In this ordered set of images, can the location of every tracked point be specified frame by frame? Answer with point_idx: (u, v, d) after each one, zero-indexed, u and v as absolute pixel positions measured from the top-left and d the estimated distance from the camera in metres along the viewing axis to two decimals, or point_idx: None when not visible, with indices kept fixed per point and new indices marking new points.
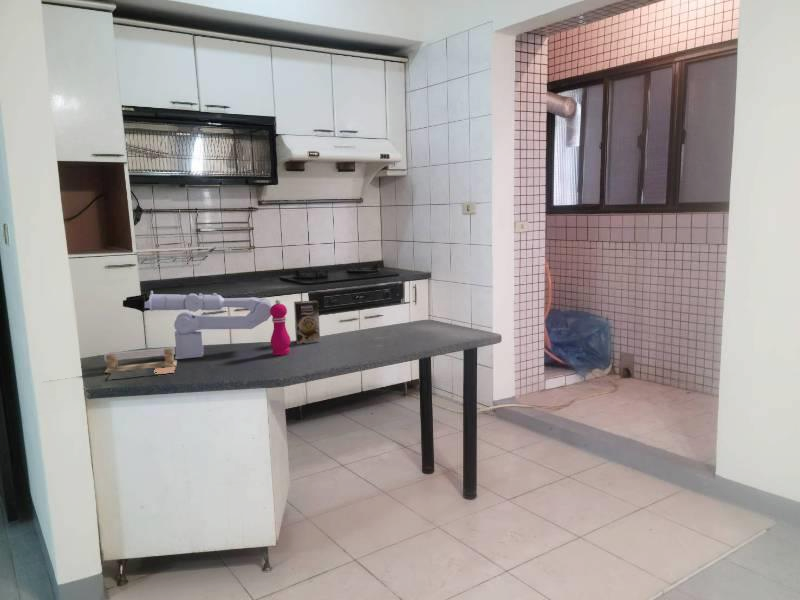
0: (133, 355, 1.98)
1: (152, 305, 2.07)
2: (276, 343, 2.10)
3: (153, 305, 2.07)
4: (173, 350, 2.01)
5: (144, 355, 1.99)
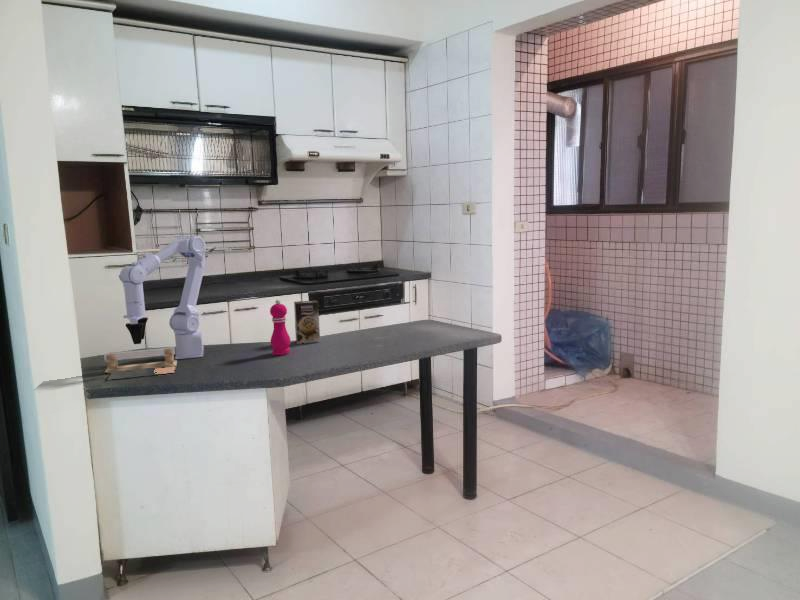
0: (133, 355, 1.98)
1: (137, 315, 1.95)
2: (276, 343, 2.10)
3: (137, 314, 1.95)
4: (173, 350, 2.01)
5: (144, 355, 1.99)
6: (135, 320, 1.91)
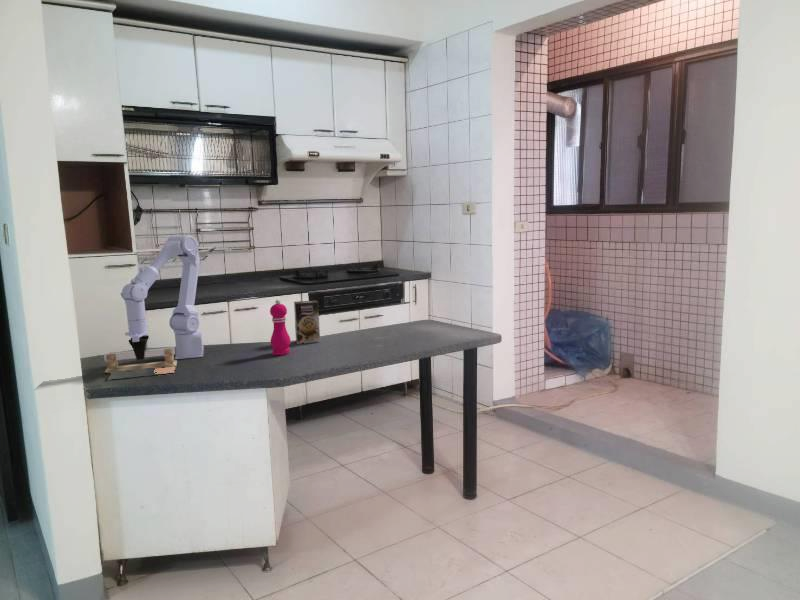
0: (133, 355, 1.98)
1: (139, 332, 1.96)
2: (276, 343, 2.10)
3: (139, 331, 1.96)
4: (173, 350, 2.01)
5: (144, 355, 1.99)
6: (137, 338, 1.92)
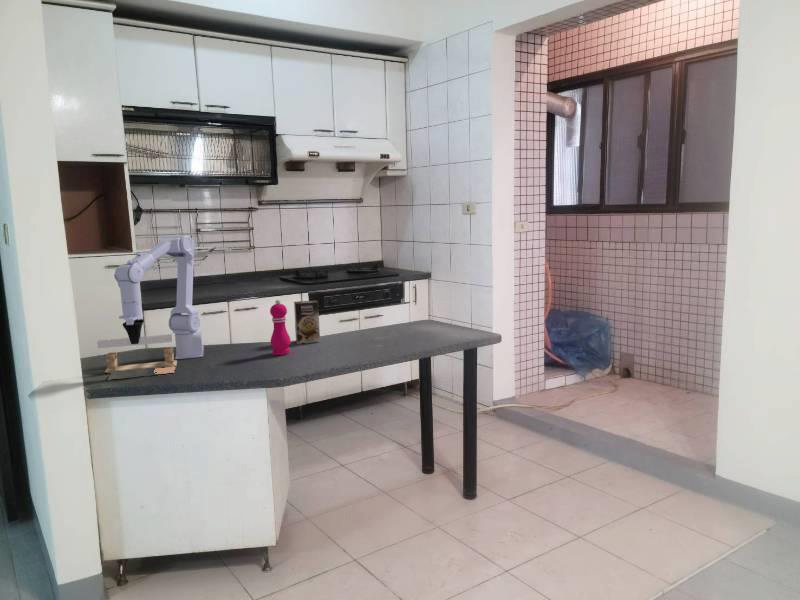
0: (128, 342, 1.90)
1: (134, 315, 1.87)
2: (276, 343, 2.10)
3: (133, 314, 1.87)
4: (169, 337, 1.93)
5: (139, 342, 1.91)
6: (131, 321, 1.83)
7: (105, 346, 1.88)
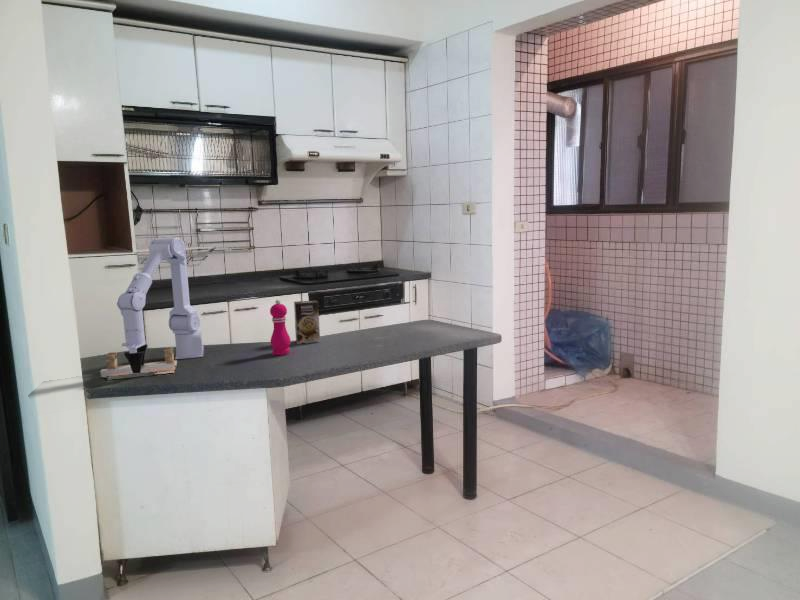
0: (131, 371, 1.91)
1: (136, 343, 1.88)
2: (276, 343, 2.10)
3: (136, 342, 1.88)
4: (172, 366, 1.94)
5: (142, 371, 1.92)
6: (134, 349, 1.84)
7: (108, 375, 1.89)
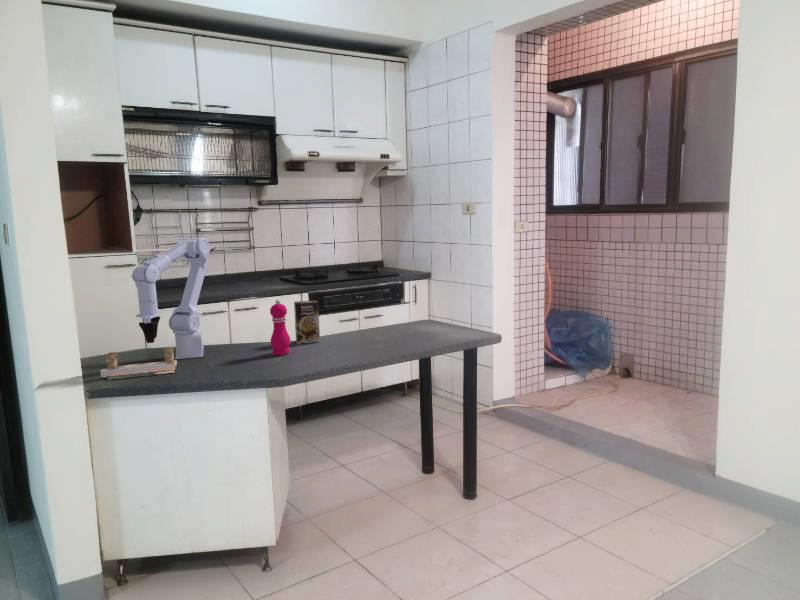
0: (131, 371, 1.91)
1: (150, 314, 1.96)
2: (276, 343, 2.10)
3: (150, 313, 1.96)
4: (172, 366, 1.94)
5: (142, 371, 1.92)
6: (148, 319, 1.92)
7: (108, 375, 1.89)
